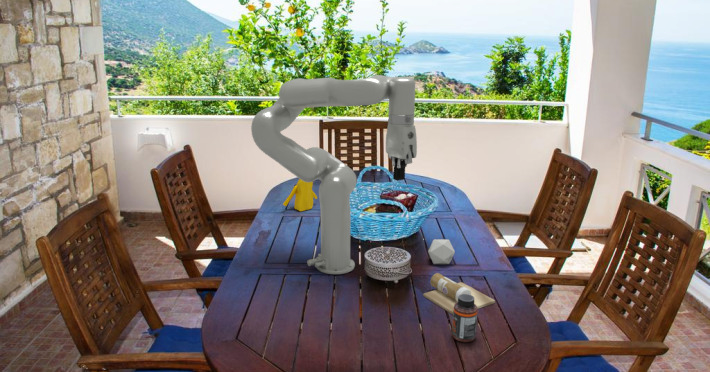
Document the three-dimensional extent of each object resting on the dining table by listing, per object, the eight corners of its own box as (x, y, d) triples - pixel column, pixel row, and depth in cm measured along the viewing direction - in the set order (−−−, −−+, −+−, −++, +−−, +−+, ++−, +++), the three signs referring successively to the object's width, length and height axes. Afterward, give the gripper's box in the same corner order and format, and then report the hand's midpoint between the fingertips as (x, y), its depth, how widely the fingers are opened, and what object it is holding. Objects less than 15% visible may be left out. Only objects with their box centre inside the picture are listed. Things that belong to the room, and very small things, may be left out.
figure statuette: (314, 203, 252) (314, 154, 246) (325, 207, 246) (325, 157, 240) (280, 211, 241) (278, 160, 234) (290, 216, 235) (289, 163, 229)
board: (455, 316, 158) (455, 313, 158) (423, 296, 169) (423, 293, 169) (494, 302, 166) (495, 300, 165) (461, 284, 177) (461, 281, 177)
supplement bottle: (449, 331, 150) (451, 291, 147) (471, 330, 151) (474, 291, 148) (454, 343, 145) (457, 303, 141) (478, 342, 145) (481, 302, 142)
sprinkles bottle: (428, 277, 171) (458, 295, 160) (439, 269, 173) (469, 286, 162) (432, 289, 173) (461, 307, 162) (443, 281, 175) (473, 299, 164)
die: (447, 272, 187) (462, 246, 188) (424, 257, 187) (439, 232, 188) (442, 270, 195) (457, 246, 196) (421, 256, 195) (435, 232, 196)
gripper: (427, 122, 166) (424, 183, 171) (396, 115, 178) (394, 172, 183) (406, 124, 162) (404, 187, 167) (376, 116, 174) (374, 175, 179)
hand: (399, 179), depth 175 cm, fingers closed
